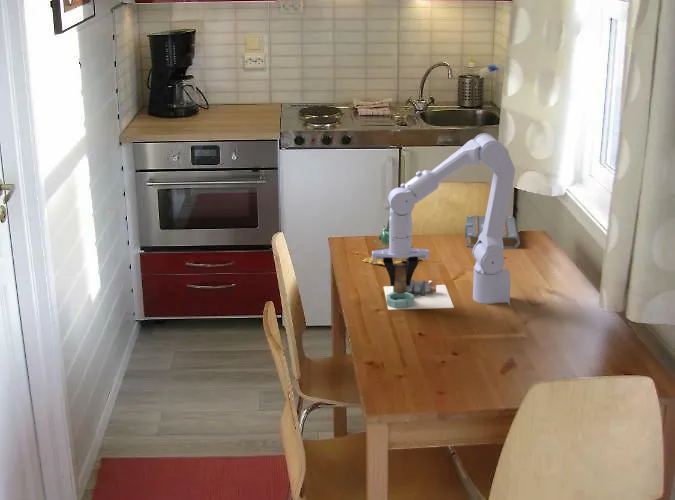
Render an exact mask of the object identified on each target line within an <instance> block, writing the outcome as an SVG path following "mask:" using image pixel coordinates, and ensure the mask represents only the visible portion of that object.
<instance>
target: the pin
mask: <svg viewBox="0 0 675 500" xmlns="http://www.w3.org/2000/svg"><path fill="white" fill-rule="evenodd" d="M393 279H394V286H393V291H394V292H395V293H405V292H407V263H403V262H401V263H396V264H394V267H393Z"/></svg>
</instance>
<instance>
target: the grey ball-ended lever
mask: <svg viewBox="0 0 675 500" xmlns="http://www.w3.org/2000/svg"><path fill="white" fill-rule="evenodd" d="M424 281H425V292H436V285H437V279H436V278H429V279H428V280H427V281H426V280H424ZM416 292H421V281H415V280H413V279H411V282H410V286H407V293H411V294H414V293H416Z"/></svg>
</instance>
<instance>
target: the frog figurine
mask: <svg viewBox="0 0 675 500" xmlns="http://www.w3.org/2000/svg"><path fill="white" fill-rule="evenodd" d="M378 237H379V238H378V239H379V241H380V242H381V243H380V242H378V241H377V240H376V239H375V240H373V243H377V244H378V245H381V246H377V250H382V248H384V249H387V247H389V218H388V220H387V226H386V227H385V225H383V229H382V231H381V233H380V234H379V236H378ZM363 259H364V260H362V262H363V261H364V262H363V263H368V262H369V263H368V264H371V265H383V266H385V265H384V262H383V259H377V260H372V256H369V257H365V258H363ZM422 259H423V258H418V262H419V261H421V260H422ZM403 262H407V258H405V259H393V264H396V263H403Z"/></svg>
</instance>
